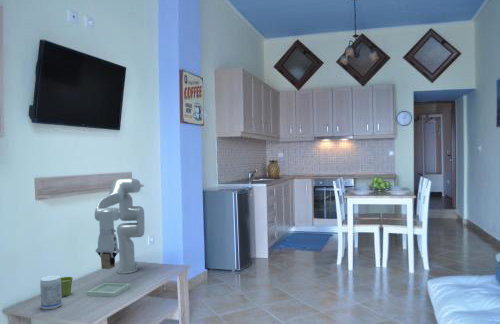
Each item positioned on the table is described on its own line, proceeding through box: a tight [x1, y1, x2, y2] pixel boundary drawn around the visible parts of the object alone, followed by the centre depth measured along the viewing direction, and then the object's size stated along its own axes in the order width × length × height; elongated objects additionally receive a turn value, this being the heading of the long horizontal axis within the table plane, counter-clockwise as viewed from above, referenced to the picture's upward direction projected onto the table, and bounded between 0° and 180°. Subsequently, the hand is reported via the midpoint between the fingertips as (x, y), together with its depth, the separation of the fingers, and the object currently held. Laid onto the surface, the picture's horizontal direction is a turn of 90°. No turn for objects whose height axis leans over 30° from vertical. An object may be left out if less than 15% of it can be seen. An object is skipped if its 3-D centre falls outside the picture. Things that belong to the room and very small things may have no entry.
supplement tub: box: [39, 274, 63, 310], centre depth 209 cm, size 10×10×15 cm
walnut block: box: [100, 253, 116, 270], centre depth 230 cm, size 5×5×8 cm
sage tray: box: [86, 282, 131, 298], centre depth 230 cm, size 16×16×2 cm
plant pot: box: [61, 276, 74, 298], centre depth 227 cm, size 9×9×9 cm
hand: (108, 264), depth 230 cm, fingers closed on walnut block, 5 cm apart
